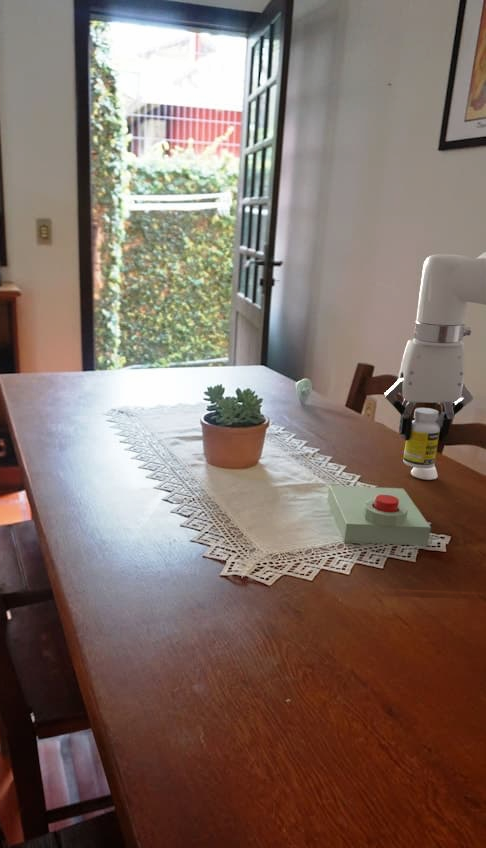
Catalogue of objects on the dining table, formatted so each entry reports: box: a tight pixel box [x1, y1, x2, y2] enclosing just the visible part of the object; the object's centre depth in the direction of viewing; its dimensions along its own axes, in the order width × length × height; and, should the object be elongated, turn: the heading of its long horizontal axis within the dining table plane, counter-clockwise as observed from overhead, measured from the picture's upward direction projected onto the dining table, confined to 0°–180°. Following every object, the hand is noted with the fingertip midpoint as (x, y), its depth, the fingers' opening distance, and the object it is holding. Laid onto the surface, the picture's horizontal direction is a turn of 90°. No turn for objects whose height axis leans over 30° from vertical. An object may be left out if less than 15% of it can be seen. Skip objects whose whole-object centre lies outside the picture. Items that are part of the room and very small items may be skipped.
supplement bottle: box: [402, 407, 440, 468], centre depth 120 cm, size 5×5×10 cm
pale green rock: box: [294, 378, 314, 404], centre depth 182 cm, size 8×4×7 cm, turn 14°
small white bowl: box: [410, 463, 439, 481], centre depth 134 cm, size 5×3×5 cm
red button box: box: [327, 484, 432, 546], centre depth 112 cm, size 13×16×5 cm
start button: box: [374, 495, 399, 513], centre depth 106 cm, size 4×4×2 cm
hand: (422, 437), depth 120 cm, fingers closed on supplement bottle, 5 cm apart
